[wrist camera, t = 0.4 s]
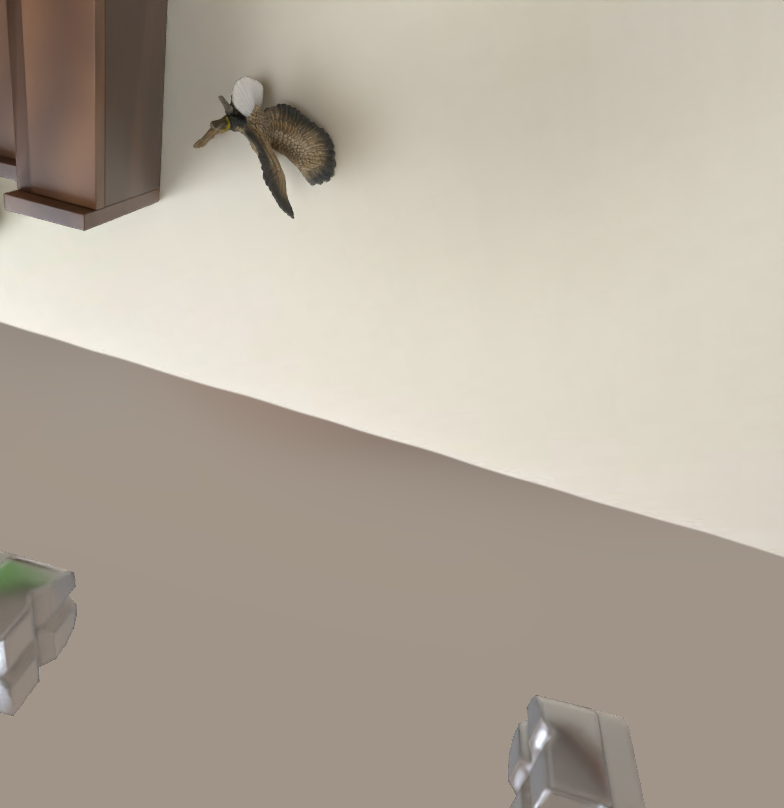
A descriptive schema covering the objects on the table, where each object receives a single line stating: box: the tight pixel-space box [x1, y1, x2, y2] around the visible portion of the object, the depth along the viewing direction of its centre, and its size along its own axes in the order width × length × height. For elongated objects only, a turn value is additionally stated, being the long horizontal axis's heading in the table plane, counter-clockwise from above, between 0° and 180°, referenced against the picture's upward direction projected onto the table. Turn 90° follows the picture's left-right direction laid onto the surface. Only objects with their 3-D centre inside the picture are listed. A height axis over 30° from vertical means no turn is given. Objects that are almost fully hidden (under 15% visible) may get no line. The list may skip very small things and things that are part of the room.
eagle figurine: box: [193, 76, 336, 219], centre depth 49 cm, size 8×7×9 cm
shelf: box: [0, 0, 167, 231], centre depth 46 cm, size 16×20×12 cm
